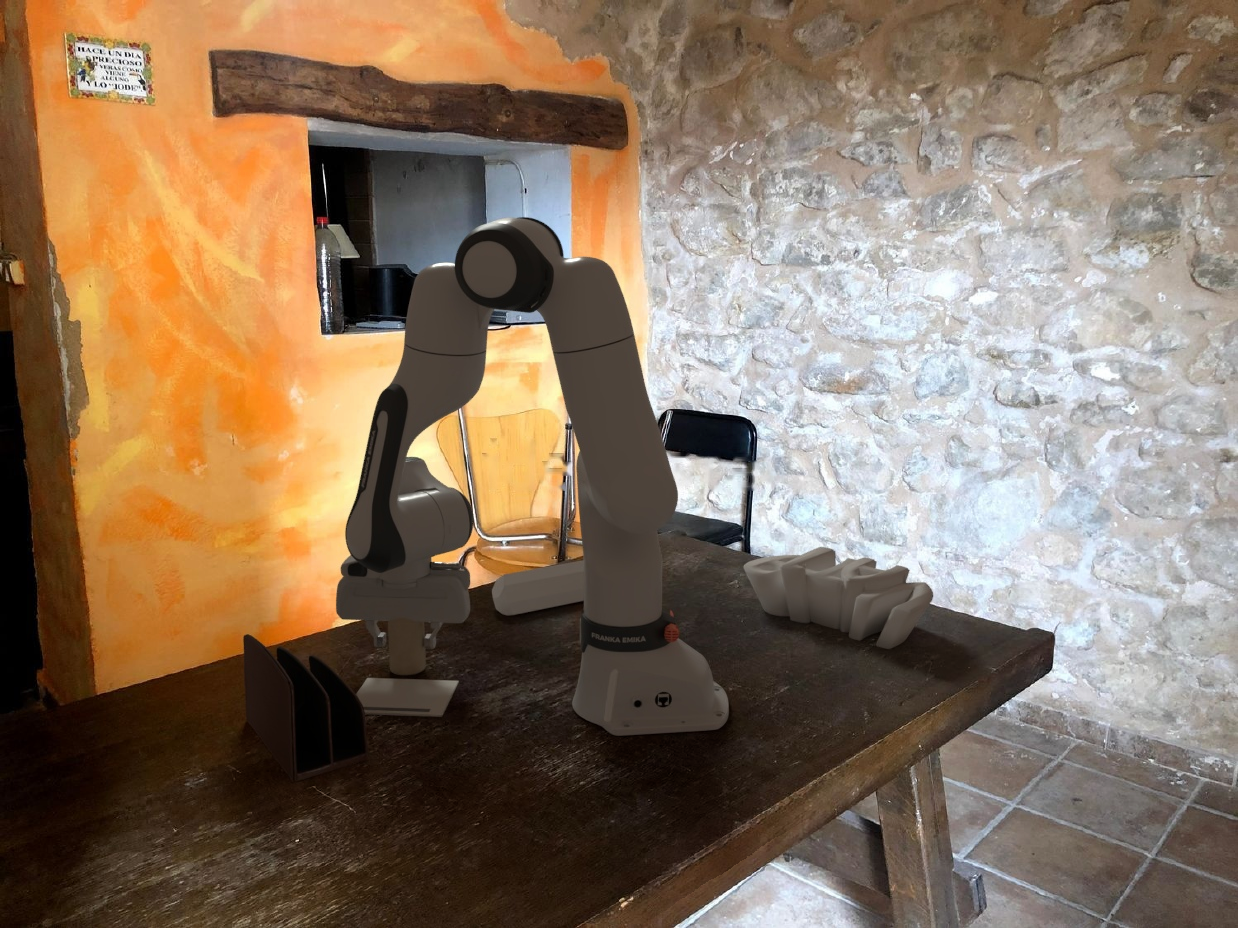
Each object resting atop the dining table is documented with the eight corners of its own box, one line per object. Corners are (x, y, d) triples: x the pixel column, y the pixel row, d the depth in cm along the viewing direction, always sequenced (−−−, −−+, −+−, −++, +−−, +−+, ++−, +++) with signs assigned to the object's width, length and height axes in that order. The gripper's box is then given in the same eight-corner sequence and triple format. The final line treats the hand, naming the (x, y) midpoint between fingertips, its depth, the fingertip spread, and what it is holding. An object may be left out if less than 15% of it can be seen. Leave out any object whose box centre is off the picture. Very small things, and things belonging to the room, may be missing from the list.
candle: (417, 677, 151) (415, 615, 148) (383, 674, 152) (381, 612, 149) (431, 662, 156) (429, 603, 154) (398, 659, 157) (396, 600, 155)
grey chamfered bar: (594, 563, 193) (480, 584, 181) (610, 554, 187) (494, 575, 175) (603, 600, 191) (489, 623, 179) (620, 592, 185) (503, 616, 173)
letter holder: (292, 785, 121) (285, 678, 118) (245, 722, 137) (237, 627, 134) (370, 760, 127) (364, 659, 124) (316, 703, 142) (310, 611, 139)
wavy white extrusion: (952, 637, 168) (958, 578, 166) (903, 665, 157) (908, 602, 154) (784, 586, 192) (787, 534, 190) (731, 607, 181) (733, 552, 179)
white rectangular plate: (458, 682, 149) (458, 680, 149) (442, 716, 138) (441, 714, 138) (367, 679, 150) (367, 677, 150) (344, 713, 139) (343, 710, 139)
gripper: (473, 556, 152) (475, 640, 155) (343, 552, 153) (347, 636, 156) (465, 569, 146) (467, 656, 149) (329, 565, 147) (334, 652, 150)
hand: (405, 646), depth 153 cm, fingers open, 6 cm apart
